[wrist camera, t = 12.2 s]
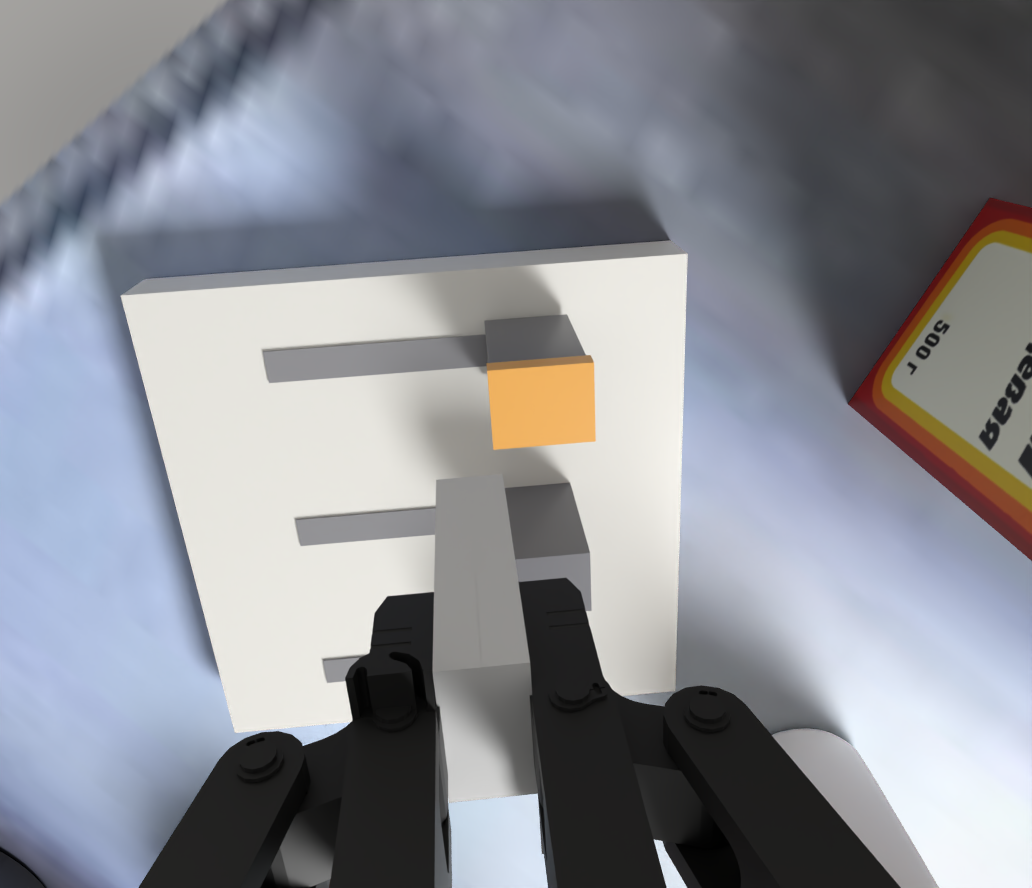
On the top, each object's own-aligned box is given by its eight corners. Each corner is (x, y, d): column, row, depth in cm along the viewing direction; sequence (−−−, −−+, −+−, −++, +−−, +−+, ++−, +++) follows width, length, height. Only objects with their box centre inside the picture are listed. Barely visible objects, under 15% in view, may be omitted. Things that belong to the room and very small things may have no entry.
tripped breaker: (486, 385, 31) (493, 449, 26) (481, 318, 30) (487, 370, 25) (571, 379, 31) (595, 441, 26) (569, 311, 30) (593, 362, 25)
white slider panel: (247, 694, 40) (202, 831, 32) (144, 278, 31) (54, 341, 24) (662, 655, 40) (707, 781, 33) (670, 240, 32) (732, 289, 25)
